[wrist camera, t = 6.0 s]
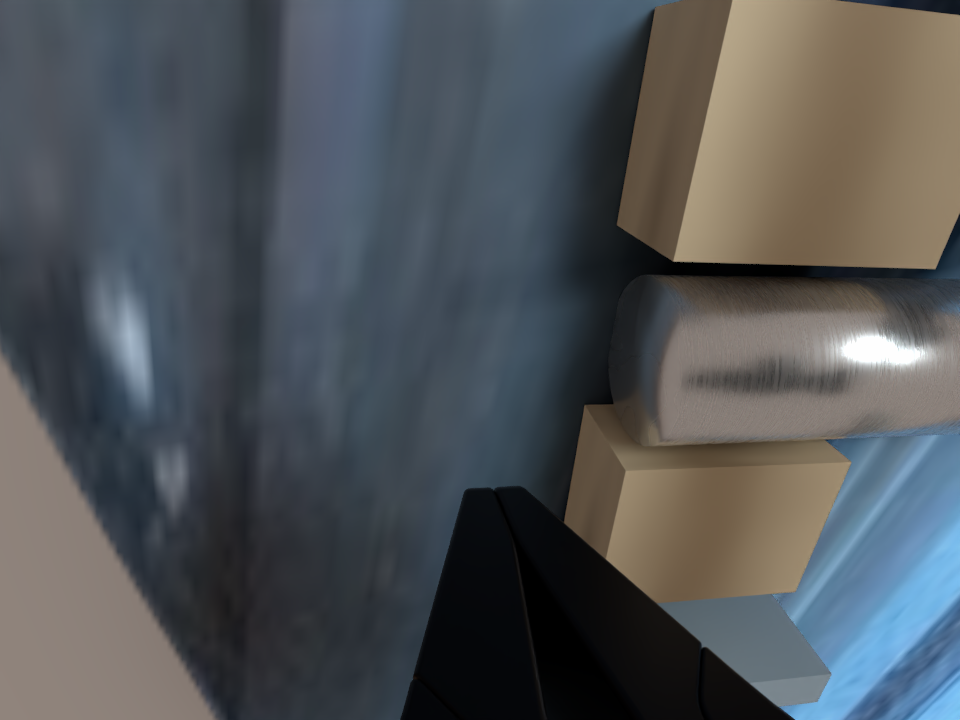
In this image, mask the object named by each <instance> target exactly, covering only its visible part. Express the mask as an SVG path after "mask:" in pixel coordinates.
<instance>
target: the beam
mask: <svg viewBox="0 0 960 720" xmlns="http://www.w3.org/2000/svg"><path fill="white" fill-rule="evenodd" d="M959 213H960V15H953V14H945V13H936V12H928V11H920V10H911V9H903V8H895V7H886V6H878V5H870V4H861V3H853V2H844V1H836V0H683V1H679V2H675V3H670V4H666V5H662V6H658V7H655V12H654V18H653V24H652V29H651V35H650V40H649V46H648V52H647V57H646V63H645V69H644V74H643V80H642V85H641V91H640V97H639V102H638V108H637V114H636V119H635V125H634V130H633V136H632V142H631V147H630V153H629V159H628V164H627V170H626V176H625V181H624V187H623V192H622V198H621V204H620V209H619V215H618V221H617V226H619V227H620V228H622V229H623V230H625V231H627V232H628V233H630V234H631V235H633V236H634V237H636V238H637V239H639V240H641V241H642V242H644V243H645V244H647V245H648V246H650V247H651V248H653V249H655V250H656V251H658V252H659V253H661V254H662V255H664V256H665V257H667V258H669V259H670V260H672V261H673V262H705V263H741V264H776V265H811V266H846V267H881V268H916V269H936V266H937V264H938V262H939V259H940V257H941V255H942V253H943V250H944V248H945V246H946V243H947V241H948V239H949V236H950V234H951V232H952V229H953V227H954V225H955V223H956V220H957V218H958V216H959ZM850 465H851V461H850V460H848V459H847V458H846V457H845V456H844V455H842V454H841V453H840V452H839V451H837V450H836V449H835V448H834V447H833V446H831V445H830V444H829V443H828V442H827V441H825V440H824V439H821V440H796V441H772V442H747V443H722V444H698V445H673V446H647V447H646V446H642V445H639V444H638V443H636V442H635V441H634V440H632V439H631V438H630V436H629V435H628V434H627V433H626V431H625V430H624V428H623V426H622V424H621V422H620V420H619V418H618V415H617V413H616V409H615V406H614V404H604V405H585V406H584V412H583V418H582V423H581V429H580V434H579V440H578V446H577V451H576V457H575V463H574V468H573V474H572V480H571V485H570V491H569V496H568V502H567V508H566V513H565V519H564V523H565V524H566V525H567V526H568V527H569V528H571V529H572V530H573V531H574V532H575V533H576V534H578V535H579V536H580V537H581V538H582V539H583V540H584V541H586V542H587V543H588V544H589V545H590V546H591V547H592V548H594V549H595V550H596V551H597V552H598V553H599V554H601V555H602V556H603V557H604V558H605V559H606V560H607V561H609V562H610V563H611V564H612V565H613V566H614V567H615V568H617V569H618V570H619V571H620V572H621V573H622V574H624V575H625V576H626V577H627V578H628V579H629V580H630V581H632V582H633V583H634V584H635V585H636V586H637V587H638V588H640V589H641V590H642V591H643V592H644V593H645V594H647V595H648V596H649V597H650V598H651V599H652V600H653V601H655V602H656V603H667V602H679V601H691V600H703V599H715V598H727V597H740V596H752V595H764V594H776V593H788V592H795V591H796V589H797V587H798V585H799V582H800V580H801V578H802V575H803V573H804V571H805V568H806V566H807V564H808V562H809V559H810V557H811V555H812V552H813V550H814V548H815V545H816V543H817V541H818V538H819V536H820V534H821V532H822V529H823V527H824V525H825V522H826V520H827V518H828V515H829V513H830V511H831V508H832V506H833V504H834V502H835V499H836V497H837V495H838V492H839V490H840V488H841V485H842V483H843V481H844V479H845V476H846V474H847V472H848V469H849V467H850Z"/></svg>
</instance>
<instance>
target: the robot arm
mask: <svg viewBox="0 0 960 720" xmlns="http://www.w3.org/2000/svg"><path fill="white" fill-rule="evenodd" d="M400 720H795V719H794V718H792V717H791V716H790V715H788V714H787V713H786V712H784V711H783V710H782V709H781V708H779V707H778V706H777V705H775V704H774V703H773V702H772V701H770V700H769V699H768V698H767V697H766V696H764V695H763V694H762V693H761V692H760V691H758V690H757V689H756V688H755V687H754V686H752V685H751V684H750V683H749V682H748V681H746V680H745V679H744V678H743V677H742V676H740V675H739V674H738V673H737V672H736V671H734V670H733V669H732V668H731V667H730V666H729V665H727V664H726V663H725V662H724V661H723V660H722V659H721V658H719V657H718V656H717V655H716V654H715V653H714V652H712V651H711V650H710V649H709V648H708V647H703V648H702V643H701V642H700V641H699V640H698V639H697V638H696V637H695V636H694V635H693V634H691V633H690V632H689V631H688V630H687V629H686V628H685V627H683V626H682V625H681V624H680V623H679V622H678V621H676V620H675V619H674V618H673V617H672V616H671V615H670V614H668V613H667V612H666V611H665V610H664V609H663V608H662V607H660V606H659V605H658V604H657V603H656V602H655V601H653V600H652V599H651V598H650V597H649V596H648V595H647V594H645V593H644V592H643V591H642V590H641V589H640V588H638V587H637V586H636V585H635V584H634V583H633V582H632V581H630V580H629V579H628V578H627V577H626V576H625V575H624V574H622V573H621V572H620V571H619V570H618V569H617V568H615V567H614V566H613V565H612V564H611V563H610V562H609V561H607V560H606V559H605V558H604V557H603V556H602V555H601V554H599V553H598V552H597V551H596V550H595V549H594V548H592V547H591V546H590V545H589V544H588V543H587V542H586V541H584V540H583V539H582V538H581V537H580V536H579V535H578V534H576V533H575V532H574V531H573V530H572V529H571V528H569V527H568V526H567V525H566V524H565V523H564V522H563V521H561V520H560V519H559V518H558V517H557V516H556V515H554V514H553V513H552V512H551V511H550V510H549V509H548V508H546V507H545V506H544V505H543V504H542V503H541V502H540V501H538V500H537V499H536V498H535V497H534V496H533V495H531V494H530V493H529V492H528V491H527V490H526V489H524V488H523V487H521V486H507V487H497V488H495V489H494V491H493V489H491V488H470V489H467V490H465V492H464V494H463V498H462V501H461V505H460V509H459V512H458V516H457V519H456V523H455V527H454V530H453V534H452V537H451V541H450V545H449V548H448V552H447V555H446V559H445V563H444V566H443V570H442V573H441V577H440V581H439V584H438V588H437V591H436V595H435V599H434V602H433V606H432V609H431V613H430V617H429V620H428V624H427V628H426V631H425V635H424V638H423V642H422V646H421V649H420V653H419V656H418V660H417V664H416V667H415V671H414V674H413V680H412V681H411V684H410V687H409V691H408V695H407V698H406V702H405V705H404V709H403V713H402V716H401V719H400Z"/></svg>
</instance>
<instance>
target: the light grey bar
mask: <svg viewBox="0 0 960 720" xmlns="http://www.w3.org/2000/svg"><path fill="white" fill-rule="evenodd" d="M608 372H609V382H610V389H611V394H612V399H613V403H614V406H615V409H616V413H617V415H618V418H619V420H620V422H621V424H622V426H623V428H624V430H625V431H626V433H627V434H628V435H629V436H630V438H631V439H632V440H634V441H635V442H636V443H638V444H639V445H642V446H646V447H647V446H673V445H698V444H722V443H747V442H772V441H796V440H821V439H846V438H870V437H895V436H920V435H944V434H960V279H912V278H841V277H769V276H697V275H641V276H638V277H636V278H635V279H633V280H632V281H631V282H630V283H629V284H628V285H627V286H626V288H625V289H624V291H623V292H622V294H621V296H620V298H619V300H618V306H617V311H616V317H615V322H614V328H613V333H612V339H611V344H610V350H609V355H608Z"/></svg>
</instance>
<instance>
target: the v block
mask: <svg viewBox="0 0 960 720" xmlns="http://www.w3.org/2000/svg"><path fill="white" fill-rule="evenodd" d="M657 604H658V605H659V606H660V607H662V608H663V609H664V610H665V611H666V612H667V613H668V614H670V615H671V616H672V617H673V618H674V619H675V620H676V621H678V622H679V623H680V624H681V625H682V626H683V627H685V628H686V629H687V630H688V631H689V632H690V633H691V634H693V635H694V636H695V637H696V638H697V639H698V640H699V641H700V642H701V643H702V648H703V647H708V648H709V649H710V650H711V651H712V652H714V653H715V654H716V655H717V656H718V657H719V658H721V659H722V660H723V661H724V662H725V663H726V664H727V665H729V666H730V667H731V668H732V669H733V670H734V671H736V672H737V673H738V674H739V675H740V676H742V677H743V678H744V679H745V680H746V681H748V682H749V683H750V684H751V685H752V686H754V687H755V688H756V689H757V690H758V691H760V692H761V693H762V694H763V695H764V696H766V697H767V698H768V699H769V700H770V701H772V702H773V703H774V704H775V705H777V706H778V707H779V706H788V705H796V704H804V703H813V702H817V701H818V699H819V697H820V696H821V694H822V692H823V690H824V688H825V686H826V684H827V682H828V680H829V678H830V676H831V672H830V671H829V670H828V668H827V667H826V666H825V664H824V663H823V662H822V660H821V659H820V658H819V656H818V655H817V654H816V652H815V651H814V650H813V648H812V647H811V646H810V644H809V643H808V642H807V640H806V639H805V638H804V636H803V635H802V634H801V632H800V631H799V630H798V629H797V627H796V626H795V625H794V623H793V622H792V621H791V619H790V618H789V617H788V615H787V614H786V613H785V611H784V610H783V609H782V607H781V606H780V605H779V603H778V602H777V601H776V599H775V598H774V597H773V595H772V594H764V595H752V596H740V597H727V598H715V599H703V600H691V601H679V602H667V603H657Z"/></svg>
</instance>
